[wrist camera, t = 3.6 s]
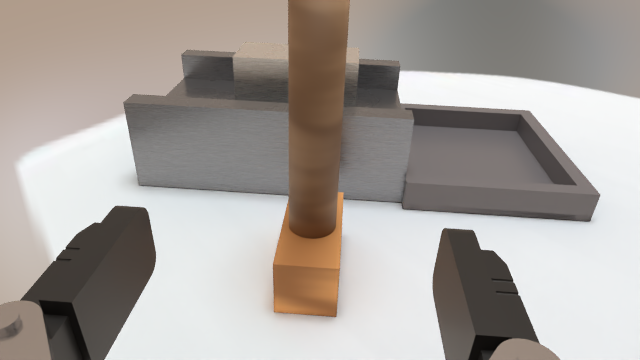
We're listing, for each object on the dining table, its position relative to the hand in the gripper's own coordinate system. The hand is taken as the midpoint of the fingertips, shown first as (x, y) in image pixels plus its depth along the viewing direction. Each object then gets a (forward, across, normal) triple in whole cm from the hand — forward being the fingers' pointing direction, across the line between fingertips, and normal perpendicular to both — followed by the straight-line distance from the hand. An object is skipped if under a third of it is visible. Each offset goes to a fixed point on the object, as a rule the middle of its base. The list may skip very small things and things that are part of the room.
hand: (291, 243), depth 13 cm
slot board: (+23, +4, +9) cm, 25 cm away
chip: (+23, +5, +5) cm, 24 cm away
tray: (+23, -11, +9) cm, 27 cm away
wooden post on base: (+9, 0, +9) cm, 13 cm away
